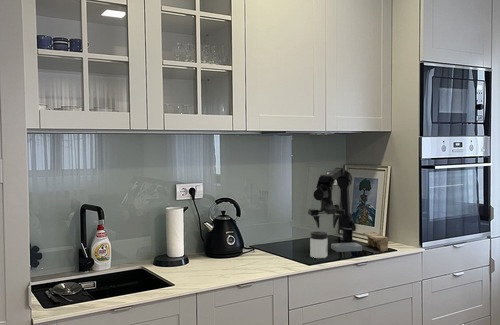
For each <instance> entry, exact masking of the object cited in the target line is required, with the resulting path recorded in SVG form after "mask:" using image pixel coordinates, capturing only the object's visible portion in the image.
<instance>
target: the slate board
mask: <svg viewBox="0 0 500 325" xmlns="http://www.w3.org/2000/svg"><path fill="white" fill-rule="evenodd" d="M330 249H331V250H333V251H335V252H336V253H343V252H345V253H348V252H362V251H363V245H361V244H359V243H357V242H340V243H338V242H337V243H331V244H330Z"/></svg>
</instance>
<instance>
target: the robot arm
mask: <svg viewBox="0 0 500 325" xmlns="http://www.w3.org/2000/svg"><path fill="white" fill-rule="evenodd" d="M336 182H337V186H338V188H339V189H340V203H341V204H334V202H333V190H334V188H333V186H334V185H335V183H336ZM352 182H353V176H352V174H351V173H350V171H347V170H346V169H345V168H344V167H335V168H334V169H333V170H331V171H330V172H329V173H324V174H321V175H320V176H319V177H318V181H317V183H316V189H315V191H314V192H313V198H314V200H316V201H320V207H319V209H318V208H317V209H316V208H308V211H307V215H310V216H311V217H312V218H313V220H314V221H315V225H316V227H317V229H320V215H321V214H326V215H332V228H334V229H335V227H336V226H337V225H336V224H337V223H338V229H339V230H340V231H342V238H340V241H343V242H344V243H347V242H355V239H353V236H354V235H353V232H356V231H357V224H356V223H355V221H354V217H353V215H352V213H351V206H350V205H351V202H350V187H351V185H352ZM340 205H341V207H340Z"/></svg>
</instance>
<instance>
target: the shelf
mask: <svg viewBox="0 0 500 325" xmlns="http://www.w3.org/2000/svg"><path fill="white" fill-rule="evenodd" d="M362 235H363V236H366V238H367V246H371V247H373V248H375V247H376V248H378V250H379V252H388V251H389V237H387V236H384V235H382V234H380V233H377V232H376V231H375V232H369V231H368V232H362Z"/></svg>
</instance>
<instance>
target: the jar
mask: <svg viewBox="0 0 500 325" xmlns="http://www.w3.org/2000/svg"><path fill="white" fill-rule="evenodd" d="M309 240H310V241H309V244H310V246H309V247H310V248H309V251H310V253H309V257H311V258H313V257H314V259H326V258H327V257H328V233H327V232H325V231H312V232H310V239H309Z"/></svg>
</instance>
